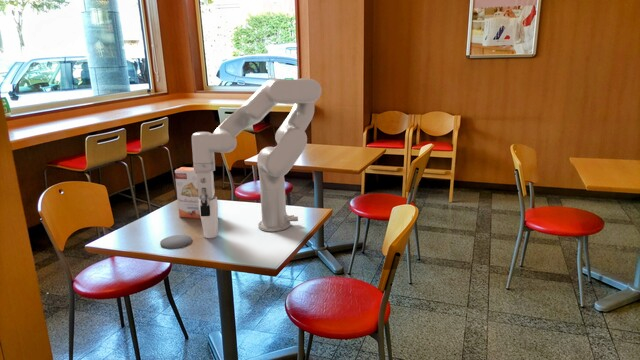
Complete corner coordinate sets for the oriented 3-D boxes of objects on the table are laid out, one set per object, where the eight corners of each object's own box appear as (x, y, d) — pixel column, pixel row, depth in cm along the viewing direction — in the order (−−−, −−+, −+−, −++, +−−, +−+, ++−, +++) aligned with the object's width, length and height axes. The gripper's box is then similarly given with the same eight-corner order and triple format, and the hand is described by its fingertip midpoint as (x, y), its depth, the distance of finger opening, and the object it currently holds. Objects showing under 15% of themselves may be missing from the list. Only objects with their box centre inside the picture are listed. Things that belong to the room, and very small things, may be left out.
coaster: (193, 235, 167) (193, 233, 167) (189, 247, 156) (189, 245, 156) (163, 238, 165) (163, 236, 165) (157, 249, 155) (157, 247, 155)
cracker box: (178, 217, 187) (173, 169, 182) (186, 213, 193) (181, 166, 187) (209, 219, 184) (204, 171, 178) (215, 215, 189) (211, 167, 184)
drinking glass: (223, 234, 168) (220, 196, 164) (212, 240, 162) (209, 201, 158) (209, 231, 171) (206, 194, 167) (197, 238, 165) (194, 199, 161)
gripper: (212, 171, 151) (215, 219, 156) (217, 161, 168) (219, 204, 172) (190, 172, 150) (193, 219, 155) (196, 161, 167) (199, 205, 171)
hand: (207, 211), depth 163 cm, fingers open, 9 cm apart
